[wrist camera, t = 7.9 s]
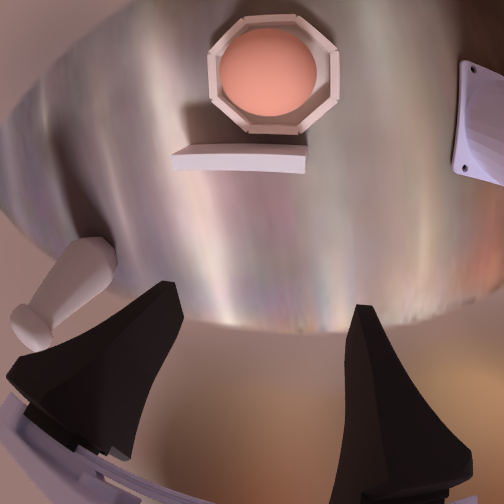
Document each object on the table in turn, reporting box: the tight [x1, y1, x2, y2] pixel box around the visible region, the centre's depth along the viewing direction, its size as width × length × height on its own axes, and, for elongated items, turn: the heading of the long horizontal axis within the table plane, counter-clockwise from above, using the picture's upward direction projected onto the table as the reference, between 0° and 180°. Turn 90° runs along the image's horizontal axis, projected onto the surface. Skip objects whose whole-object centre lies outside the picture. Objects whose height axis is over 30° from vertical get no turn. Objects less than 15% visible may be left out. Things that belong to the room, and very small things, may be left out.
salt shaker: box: [10, 237, 117, 352], centre depth 21 cm, size 6×6×13 cm
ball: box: [219, 28, 317, 116], centre depth 12 cm, size 5×5×5 cm
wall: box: [171, 143, 308, 174], centre depth 17 cm, size 8×1×3 cm, turn 92°
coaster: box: [207, 14, 339, 135], centre depth 14 cm, size 8×8×1 cm
